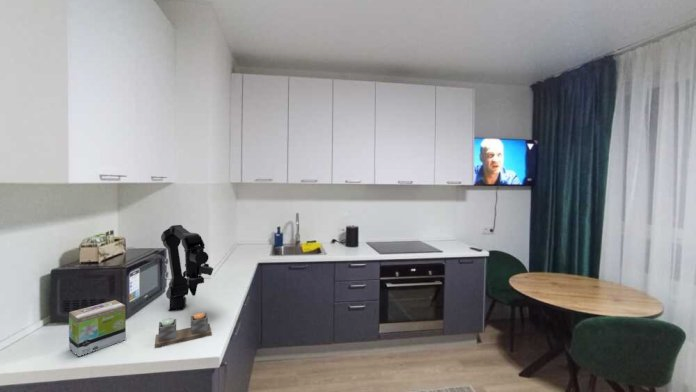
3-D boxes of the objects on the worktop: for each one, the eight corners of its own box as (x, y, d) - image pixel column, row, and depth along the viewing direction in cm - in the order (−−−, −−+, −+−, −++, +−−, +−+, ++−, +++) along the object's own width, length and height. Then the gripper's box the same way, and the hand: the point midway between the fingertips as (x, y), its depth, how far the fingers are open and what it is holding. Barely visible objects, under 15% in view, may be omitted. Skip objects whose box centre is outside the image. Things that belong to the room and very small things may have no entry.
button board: (154, 348, 115) (154, 330, 115) (155, 338, 122) (155, 321, 122) (211, 335, 125) (211, 318, 125) (209, 326, 132) (209, 311, 132)
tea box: (78, 358, 108) (77, 318, 107) (68, 350, 113) (67, 311, 113) (126, 340, 121) (125, 304, 120) (115, 333, 126) (115, 298, 125)
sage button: (160, 328, 118) (159, 323, 118) (163, 323, 122) (163, 318, 122) (171, 327, 119) (171, 322, 119) (175, 322, 123) (174, 317, 123)
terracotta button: (192, 321, 124) (192, 317, 124) (194, 317, 128) (194, 312, 128) (203, 320, 125) (203, 315, 125) (205, 316, 129) (205, 311, 129)
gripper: (215, 262, 135) (217, 296, 135) (207, 255, 150) (208, 286, 150) (188, 266, 128) (189, 302, 128) (182, 259, 143) (183, 291, 143)
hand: (193, 295), depth 138 cm, fingers closed
